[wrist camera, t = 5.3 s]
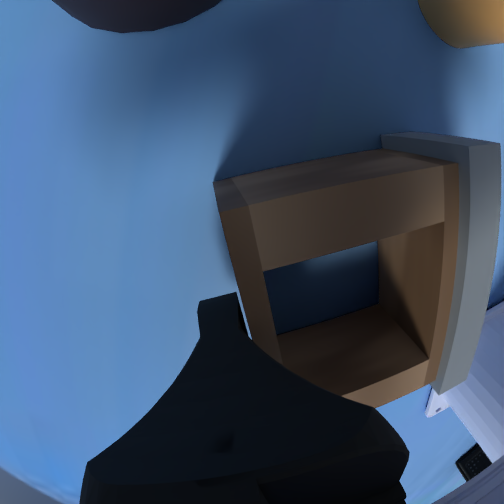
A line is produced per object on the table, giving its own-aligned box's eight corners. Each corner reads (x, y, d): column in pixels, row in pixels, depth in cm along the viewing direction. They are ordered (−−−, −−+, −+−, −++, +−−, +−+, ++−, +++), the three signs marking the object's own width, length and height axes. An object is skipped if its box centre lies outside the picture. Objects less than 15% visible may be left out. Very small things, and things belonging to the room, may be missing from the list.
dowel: (461, -12, 8) (551, -34, 2) (481, 52, 9) (581, 49, 4) (407, -28, 8) (503, -72, 2) (430, 44, 9) (546, 26, 3)
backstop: (411, 131, 10) (500, 143, 6) (413, 323, 14) (466, 379, 10) (380, 135, 10) (468, 146, 6) (388, 333, 14) (438, 395, 9)
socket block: (382, 148, 10) (458, 163, 7) (389, 325, 13) (435, 380, 10) (212, 182, 10) (219, 212, 6) (260, 367, 13) (280, 439, 9)
